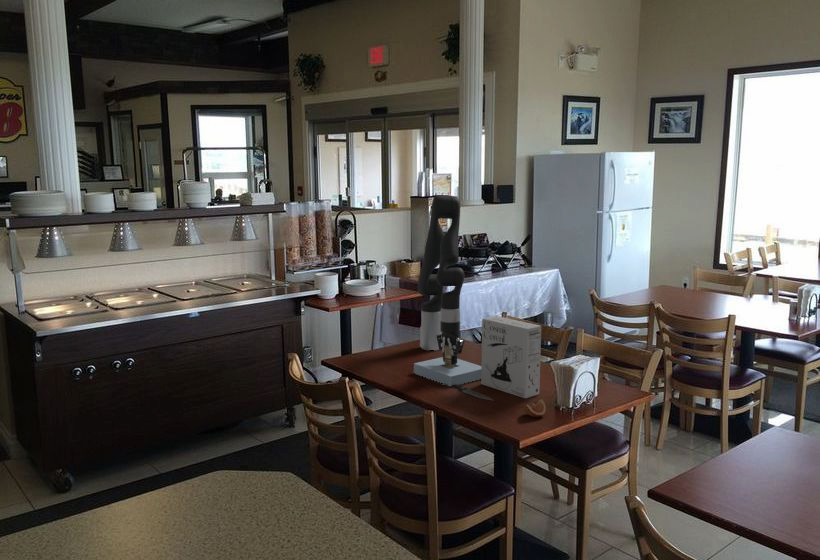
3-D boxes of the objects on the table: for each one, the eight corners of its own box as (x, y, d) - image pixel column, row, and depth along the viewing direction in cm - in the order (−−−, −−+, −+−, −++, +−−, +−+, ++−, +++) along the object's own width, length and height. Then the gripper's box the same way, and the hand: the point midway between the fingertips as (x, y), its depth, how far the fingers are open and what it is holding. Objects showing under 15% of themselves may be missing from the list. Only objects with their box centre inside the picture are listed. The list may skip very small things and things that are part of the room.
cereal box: (480, 384, 258) (481, 318, 254) (494, 380, 263) (496, 315, 259) (525, 399, 241) (527, 328, 238) (539, 394, 246) (541, 325, 242)
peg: (442, 368, 268) (442, 345, 267) (450, 366, 271) (450, 344, 270) (449, 370, 265) (449, 347, 264) (457, 368, 268) (457, 346, 266)
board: (413, 373, 272) (413, 363, 271) (448, 365, 283) (448, 355, 282) (451, 387, 255) (451, 376, 254) (486, 378, 266) (486, 367, 265)
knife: (487, 404, 237) (498, 401, 240) (487, 401, 237) (498, 398, 240) (439, 385, 258) (450, 382, 261) (439, 382, 258) (450, 380, 261)
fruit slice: (532, 422, 220) (533, 406, 219) (516, 416, 225) (517, 401, 224) (549, 416, 225) (550, 401, 224) (533, 410, 230) (534, 396, 229)
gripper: (470, 321, 262) (469, 365, 265) (445, 315, 273) (445, 357, 276) (455, 324, 257) (454, 368, 260) (430, 317, 268) (430, 360, 271)
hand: (449, 362), depth 268 cm, fingers closed on peg, 4 cm apart
